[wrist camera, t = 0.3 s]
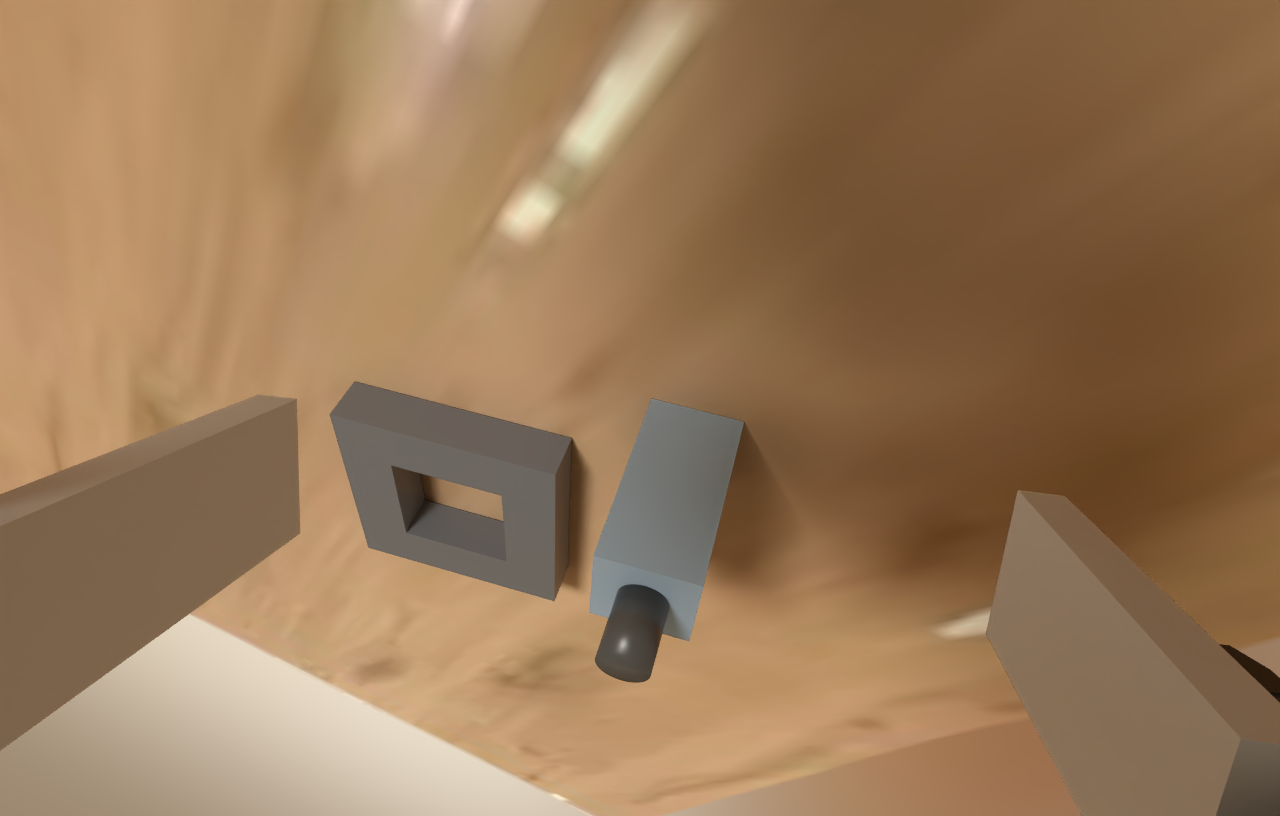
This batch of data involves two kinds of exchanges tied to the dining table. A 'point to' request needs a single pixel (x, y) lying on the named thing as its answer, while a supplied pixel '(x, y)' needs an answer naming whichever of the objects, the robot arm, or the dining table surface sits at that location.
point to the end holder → (464, 454)
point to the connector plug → (660, 535)
